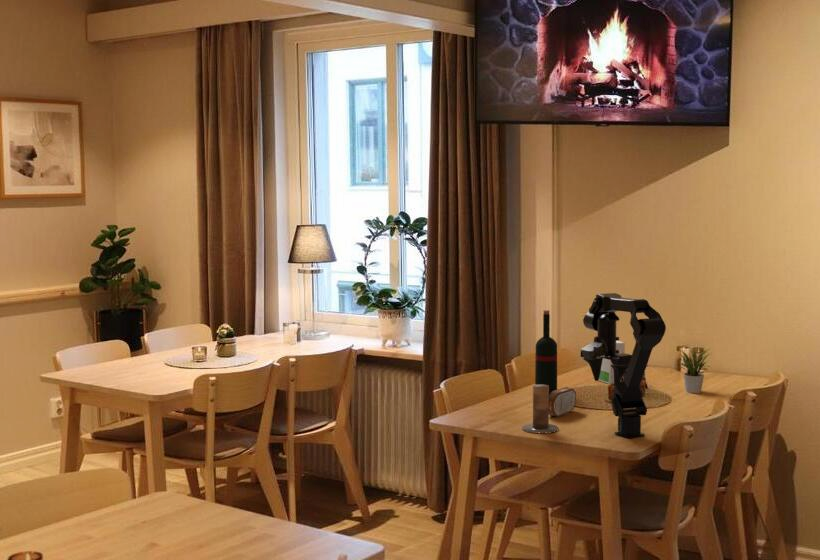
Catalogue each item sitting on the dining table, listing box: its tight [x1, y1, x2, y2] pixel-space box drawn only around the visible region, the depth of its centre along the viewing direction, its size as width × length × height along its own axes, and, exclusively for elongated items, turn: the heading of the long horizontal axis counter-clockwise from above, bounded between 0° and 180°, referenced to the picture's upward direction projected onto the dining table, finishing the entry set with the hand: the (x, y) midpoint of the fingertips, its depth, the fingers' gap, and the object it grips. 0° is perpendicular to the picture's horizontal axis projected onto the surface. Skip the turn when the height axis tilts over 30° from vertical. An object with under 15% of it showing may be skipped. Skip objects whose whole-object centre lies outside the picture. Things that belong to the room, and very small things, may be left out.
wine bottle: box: [534, 309, 558, 395], centre depth 365 cm, size 8×10×30 cm
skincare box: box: [598, 340, 626, 385], centre depth 386 cm, size 8×7×16 cm
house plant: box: [678, 348, 714, 394], centre depth 367 cm, size 14×14×16 cm
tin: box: [549, 386, 577, 418], centre depth 336 cm, size 15×3×8 cm, turn 141°
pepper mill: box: [532, 384, 550, 430], centre depth 316 cm, size 5×5×13 cm
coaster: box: [521, 423, 559, 434], centre depth 317 cm, size 11×11×1 cm
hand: (606, 383), depth 321 cm, fingers open, 9 cm apart
